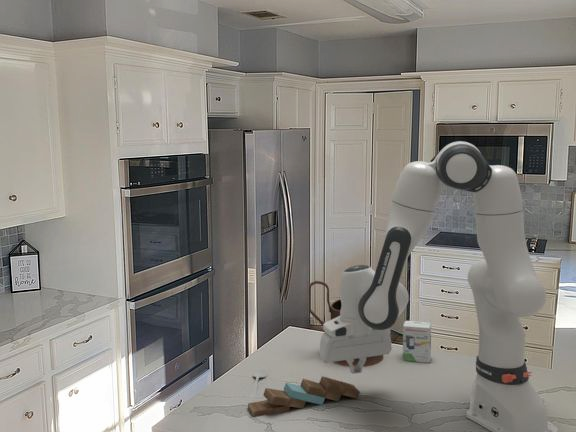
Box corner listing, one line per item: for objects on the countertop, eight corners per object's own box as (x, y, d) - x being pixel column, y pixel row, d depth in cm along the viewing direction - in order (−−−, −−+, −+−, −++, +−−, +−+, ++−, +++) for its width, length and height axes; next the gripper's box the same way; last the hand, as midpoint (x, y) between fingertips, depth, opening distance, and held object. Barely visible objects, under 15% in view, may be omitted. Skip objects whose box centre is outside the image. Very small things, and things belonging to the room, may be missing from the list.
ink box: (430, 357, 186) (431, 322, 184) (429, 363, 181) (430, 327, 180) (403, 354, 189) (404, 320, 187) (402, 360, 184) (402, 325, 182)
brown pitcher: (387, 367, 179) (388, 288, 175) (309, 367, 180) (309, 289, 176) (379, 345, 197) (380, 273, 194) (308, 345, 198) (308, 274, 194)
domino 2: (297, 393, 157) (265, 387, 153) (305, 401, 153) (273, 396, 148) (294, 399, 157) (263, 395, 153) (303, 408, 153) (270, 403, 148)
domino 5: (352, 384, 163) (321, 376, 160) (360, 392, 158) (328, 383, 155) (350, 391, 163) (319, 382, 160) (357, 398, 158) (325, 390, 155)
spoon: (268, 372, 177) (268, 367, 177) (257, 404, 157) (257, 398, 156) (255, 372, 177) (254, 367, 177) (242, 403, 157) (241, 397, 157)
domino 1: (283, 397, 156) (247, 403, 153) (289, 405, 152) (253, 411, 148) (283, 404, 157) (248, 410, 153) (289, 412, 152) (253, 419, 149)
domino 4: (334, 387, 161) (302, 378, 158) (341, 394, 156) (309, 386, 153) (331, 393, 161) (300, 385, 158) (338, 401, 156) (306, 393, 153)
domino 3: (317, 390, 159) (285, 382, 156) (324, 398, 155) (292, 390, 151) (315, 397, 159) (283, 389, 156) (322, 405, 155) (289, 397, 151)
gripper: (385, 316, 163) (384, 363, 165) (317, 324, 157) (317, 372, 159) (396, 323, 157) (395, 371, 159) (325, 332, 151) (326, 382, 153)
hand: (355, 372), depth 159 cm, fingers closed
